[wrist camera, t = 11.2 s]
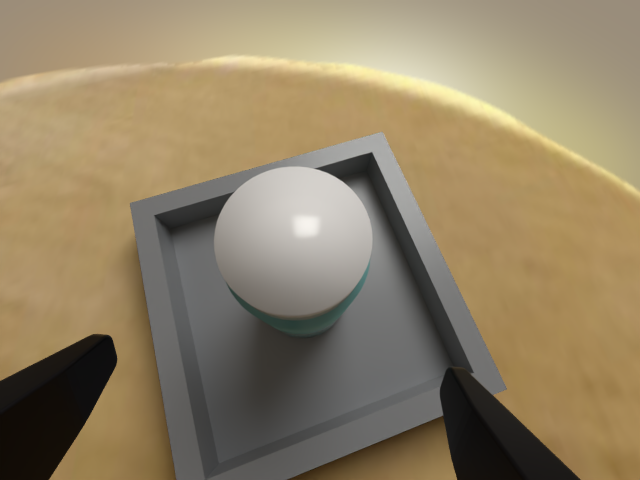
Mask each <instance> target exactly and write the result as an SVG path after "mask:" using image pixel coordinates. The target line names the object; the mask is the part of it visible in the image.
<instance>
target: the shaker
mask: <svg viewBox="0 0 640 480" xmlns="http://www.w3.org/2000/svg"><path fill="white" fill-rule="evenodd" d="M372 240H373V238H372V228H371V223H370V219H369V216H368V214H367V211H366V209H365V207H364V205H363V203H362V202H361V200H360V199H359V198H358V196H357V195H356V194H355V193H354V192H353V190H352V189H351V188H350V187H348V186H347V185H346V184H345V183H344V182H342V181H341V180H339V179H338V178H336V177H334V176H332V175H330V174H328V173H326V172H323V171H320V170H317V169H313V168H308V167H282V168H277V169H272V170H269V171H266V172H263V173H261V174H259V175H257V176H255V177H253V178H251V179H250V180H248V181H247V182H245V183H244V184H243V185H242V186H240V187H239V188H238V189H237V190H236V191H235V192H234V193H233V194H232V195H231V197H230V198H229V199H228V201H227V202H226V203H225V205H224V207H223V209H222V211H221V213H220V215H219V218H218V220H217V224H216V228H215V234H214V251H215V257H216V261H217V264H218V267H219V270H220V272H221V274H222V276H223V278H224V279H225V281H226V284H227V286H228V288H229V290H230V292H231V293H232V295H233V296H234V298H235V299H236V300H237V301H238V303H239V304H240V305H241V306H242V307H243V308H244V309H246V310H247V311H248V312H249V313H251V314H252V315H254V316H255V317H257V318H259V319H260V320H262V321H264V322H265V323H267V324H268V325H270V326H272V327H273V328H275V329H277V330H278V331H280V332H282V333H283V334H285V335H288V336H290V337H294V338H312V337H315V336H318V335H320V334H323V333H324V332H326V331H327V330H329V329H330V328H331V327H332V326H333V325H334V324H335V323H336V322H337V320H338V319H339V318H340V317H341V315H342V314H343V313H344V312H345V310H346V309H347V308H348V307H349V305H350V304H351V303H352V302H353V300H354V299H355V298H356V296H357V295H358V293H359V292H360V291H361V289H362V287H363V285H364V283H365V280H366V277H367V275H368V271H369V266H370V256H371V251H372Z"/></svg>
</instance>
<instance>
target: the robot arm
mask: <svg viewBox="0 0 640 480" xmlns="http://www.w3.org/2000/svg"><path fill="white" fill-rule="evenodd" d="M116 364H117V355H116V351H115V347H114V343H113V340H112V338H111V336H109V335H103V334H93V335H90V336H88V337H86V338H84V339H82V340H80V341H78V342H76V343H74V344H72V345H70V346H68V347H66V348H64V349H62V350H60V351H59V352H57V353H55V354H53V355H51V356H49V357H47V358H45V359H43V360H41V361H39V362H37V363H35V364H33V365H31V366H29V367H27V368H25V369H23V370H21V371H19V372H17V373H15V374H13V375H11V376H9V377H7V378H5V379H3V380H1V381H0V480H49V479H50V477H51V476H52V474H53V472H54V471H55V469H56V468H57V466H58V465H59V463H60V462H61V460H62V459H63V457H64V456H65V454H66V452H67V451H68V449H69V448H70V446H71V445H72V443H73V442H74V440H75V439H76V437H77V436H78V434H79V432H80V431H81V429H82V428H83V426H84V424H85V423H86V421H87V419H88V417H89V416H90V414H91V412H92V410H93V408H94V406H95V404H96V403H97V401H98V399H99V397H100V395H101V393H102V391H103V389H104V388H105V386H106V384H107V382H108V380H109V378H110V376H111V374H112V372H113V371H114V369H115V367H116ZM440 401H441V406H442V411H443V417H444V422H445V428H446V433H447V438H448V444H449V449H450V454H451V459H452V462H453V466H454V470H455V473H456V477H457V480H581V479H580V478H578V477H577V476H576V475H575V474H574V473H573V472H572V471H571V470H570V469H569V468H568V467H567V466H566V465H565V464H564V463H563V462H562V461H561V460H560V459H559V458H558V457H557V456H556V455H555V454H553V453H552V452H551V451H550V450H549V449H548V448H547V447H546V446H545V445H544V444H543V443H542V442H541V441H540V440H539V439H538V438H537V437H536V436H535V435H534V434H533V433H532V432H531V431H530V430H528V429H527V428H526V427H525V426H524V425H523V424H522V423H521V422H520V421H519V420H518V419H517V418H516V417H515V416H514V415H513V414H512V413H511V412H510V411H509V410H508V409H507V408H506V407H505V406H503V405H502V404H501V403H500V402H499V401H498V400H497V399H496V398H495V397H494V396H493V395H492V394H491V393H490V392H489V391H488V390H487V389H486V388H485V387H484V386H483V385H482V384H481V383H480V382H478V381H477V380H476V379H475V378H474V377H473V376H472V375H471V374H470V373H469V372H468V371H467V370H466V369H464V368H461V367H451V366H450V367H448V368H447V369H446V371H445V374H444V377H443V380H442V383H441V386H440Z"/></svg>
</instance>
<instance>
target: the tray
mask: <svg viewBox="0 0 640 480" xmlns="http://www.w3.org/2000/svg"><path fill="white" fill-rule="evenodd" d="M282 167H308V168H313V169H317V170H320V171H323V172H326V173H328V174H330V175H332V176H334V177H336V178H338V179H339V180H341V181H342V182H344V183H345V184H346V185H347V186H348V187H350V188H351V189H352V190H353V192H354V193H355V194H356V195H357V196H358V198H359V199H360V200H361V202H362V203H363V205H364V207H365V209H366V211H367V214H368V216H369V219H370V223H371V228H372V238H373V240H372V251H371V256H370V266H369V271H368V275H367V277H366V280H365V283H364V285H363V287H362V289H361V291H360V292H359V293H358V295H357V296H356V298H355V299H354V300H353V302H352V303H351V304H350V305H349V307H348V308H347V309H346V310H345V312H344V313H343V314H342V315H341V317H340V318H339V319H338V320H337V322H336V323H335V324H334V325H333V326H332V327H331V328H330V329H329V330H327V331H326V332H324V333H323V334H320V335H318V336H315V337H312V338H294V337H290V336H288V335H285V334H283V333H282V332H280V331H278V330H277V329H275V328H273V327H272V326H270V325H268V324H267V323H265V322H264V321H262V320H260V319H259V318H257V317H255V316H254V315H252V314H251V313H249V312H248V311H247V310H246V309H244V308H243V307H242V306H241V305H240V304H239V303H238V301H237V300H236V299H235V298H234V296H233V295H232V293H231V292H230V290H229V288H228V286H227V284H226V281H225V279H224V278H223V276H222V274H221V272H220V270H219V267H218V264H217V261H216V257H215V251H214V234H215V228H216V224H217V220H218V218H219V215H220V213H221V211H222V209H223V207H224V205H225V203H226V202H227V201H228V199H229V198H230V197H231V195H232V194H233V193H234V192H235V191H236V190H237V189H238V188H239V187H240V186H242V185H243V184H244V183H245V182H247V181H248V180H250V179H251V178H253V177H255V176H257V175H259V174H261V173H263V172H266V171H269V170H272V169H277V168H282ZM130 207H131V213H132V219H133V225H134V231H135V237H136V243H137V249H138V254H139V260H140V266H141V272H142V278H143V284H144V290H145V296H146V302H147V308H148V314H149V320H150V326H151V332H152V338H153V344H154V350H155V355H156V361H157V367H158V373H159V379H160V385H161V391H162V397H163V403H164V409H165V415H166V421H167V427H168V433H169V439H170V445H171V451H172V457H173V462H174V468H175V474H176V480H287V479H290V478H292V477H295V476H297V475H299V474H302V473H304V472H307V471H309V470H312V469H314V468H316V467H319V466H321V465H324V464H326V463H329V462H331V461H333V460H336V459H338V458H341V457H343V456H346V455H348V454H350V453H353V452H355V451H358V450H360V449H363V448H365V447H368V446H370V445H372V444H375V443H377V442H380V441H382V440H385V439H387V438H389V437H392V436H394V435H397V434H399V433H402V432H404V431H406V430H409V429H411V428H414V427H416V426H419V425H421V424H423V423H426V422H428V421H431V420H433V419H436V418H438V417H440V416H443V411H442V406H441V401H440V386H441V383H442V380H443V377H444V374H445V371H446V369H447V368H448V367H450V366H451V367H461V368H464V369H466V370H467V371H468V372H469V373H470V374H471V375H472V376H473V377H474V378H475V379H476V380H477V381H478V382H480V383H481V384H482V385H483V386H484V387H485V388H486V389H487V390H488V391H489V392H490V393H491V394H492V395H494V394H496V393H499V392H501V391H504V390H506V389H507V388H506V386H505V384H504V382H503V380H502V378H501V375H500V373H499V371H498V369H497V367H496V365H495V363H494V361H493V359H492V357H491V355H490V353H489V351H488V349H487V347H486V344H485V342H484V340H483V338H482V336H481V334H480V332H479V330H478V328H477V326H476V324H475V322H474V320H473V318H472V316H471V314H470V311H469V309H468V307H467V305H466V303H465V301H464V299H463V297H462V295H461V293H460V291H459V289H458V287H457V285H456V283H455V280H454V278H453V276H452V274H451V272H450V270H449V268H448V266H447V264H446V262H445V260H444V258H443V256H442V254H441V252H440V250H439V247H438V245H437V243H436V241H435V239H434V237H433V235H432V233H431V231H430V229H429V227H428V225H427V223H426V221H425V219H424V216H423V214H422V212H421V210H420V208H419V206H418V204H417V202H416V200H415V198H414V196H413V194H412V192H411V190H410V188H409V186H408V183H407V181H406V179H405V177H404V175H403V173H402V171H401V169H400V167H399V165H398V163H397V161H396V159H395V157H394V155H393V152H392V150H391V148H390V146H389V144H388V142H387V140H386V138H385V136H384V134H383V132H379V133H376V134H372V135H369V136H365V137H362V138H358V139H355V140H351V141H348V142H344V143H341V144H337V145H334V146H330V147H327V148H323V149H319V150H316V151H312V152H309V153H305V154H302V155H298V156H295V157H291V158H288V159H284V160H281V161H277V162H274V163H270V164H266V165H263V166H259V167H256V168H252V169H249V170H245V171H242V172H238V173H235V174H231V175H228V176H224V177H221V178H217V179H213V180H210V181H206V182H203V183H199V184H196V185H192V186H189V187H185V188H182V189H178V190H175V191H171V192H168V193H164V194H161V195H157V196H153V197H150V198H146V199H143V200H139V201H136V202H132V203H130Z"/></svg>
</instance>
